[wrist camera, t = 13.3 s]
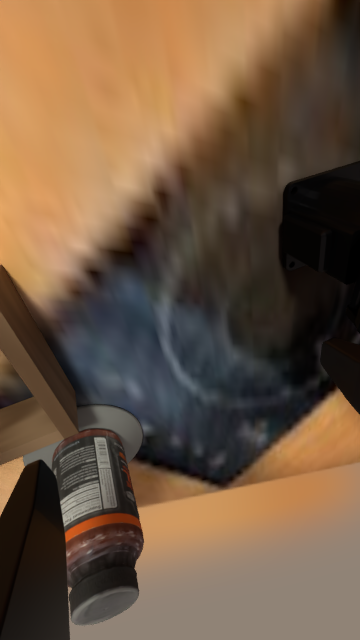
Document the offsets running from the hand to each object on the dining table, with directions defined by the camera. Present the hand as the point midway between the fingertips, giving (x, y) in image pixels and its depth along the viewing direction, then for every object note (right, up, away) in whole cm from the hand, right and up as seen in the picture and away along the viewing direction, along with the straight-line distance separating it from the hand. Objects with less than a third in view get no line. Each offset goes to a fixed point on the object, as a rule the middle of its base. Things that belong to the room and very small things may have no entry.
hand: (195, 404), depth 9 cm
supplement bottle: (-9, -9, +18) cm, 22 cm away
